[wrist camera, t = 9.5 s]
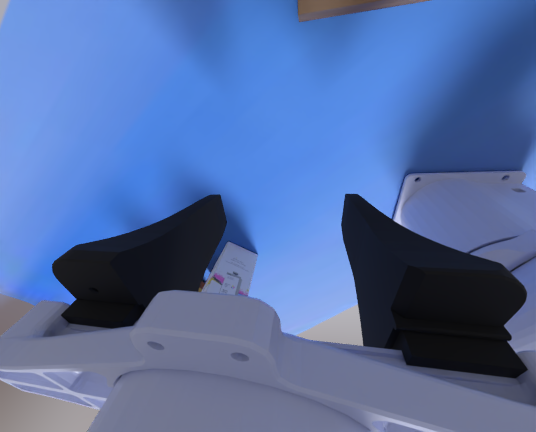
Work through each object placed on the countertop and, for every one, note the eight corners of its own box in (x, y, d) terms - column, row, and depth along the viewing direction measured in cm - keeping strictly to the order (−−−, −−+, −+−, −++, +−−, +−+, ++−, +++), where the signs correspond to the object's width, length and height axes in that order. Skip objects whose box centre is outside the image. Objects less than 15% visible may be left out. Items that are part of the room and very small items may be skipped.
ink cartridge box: (237, 285, 34) (200, 400, 22) (209, 272, 33) (155, 385, 21) (260, 254, 29) (228, 380, 17) (228, 239, 29) (172, 359, 17)
